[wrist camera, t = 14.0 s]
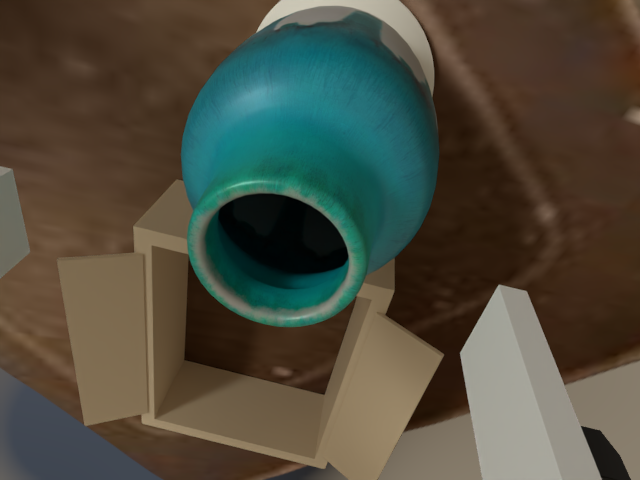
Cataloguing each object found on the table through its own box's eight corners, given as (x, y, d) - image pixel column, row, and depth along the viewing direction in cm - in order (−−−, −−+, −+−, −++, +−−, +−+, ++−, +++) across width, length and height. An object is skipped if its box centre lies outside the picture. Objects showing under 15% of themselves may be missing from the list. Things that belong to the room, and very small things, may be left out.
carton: (137, 356, 47) (85, 439, 39) (128, 167, 35) (49, 233, 27) (368, 413, 47) (363, 508, 39) (443, 245, 35) (457, 334, 27)
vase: (462, 75, 27) (557, 255, 11) (350, 192, 33) (310, 425, 17) (325, -51, 25) (205, -47, 9) (229, 98, 30) (45, 268, 14)
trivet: (240, 147, 33) (238, 150, 32) (260, -44, 26) (258, -44, 25) (400, 187, 33) (401, 190, 32) (463, 5, 26) (464, 6, 25)
